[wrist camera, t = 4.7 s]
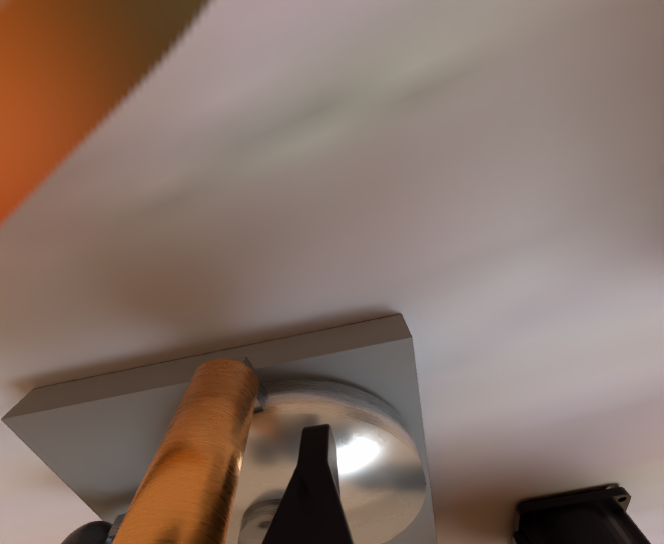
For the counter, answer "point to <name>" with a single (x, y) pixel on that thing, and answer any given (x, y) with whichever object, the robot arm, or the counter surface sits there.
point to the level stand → (166, 394)
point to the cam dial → (265, 462)
